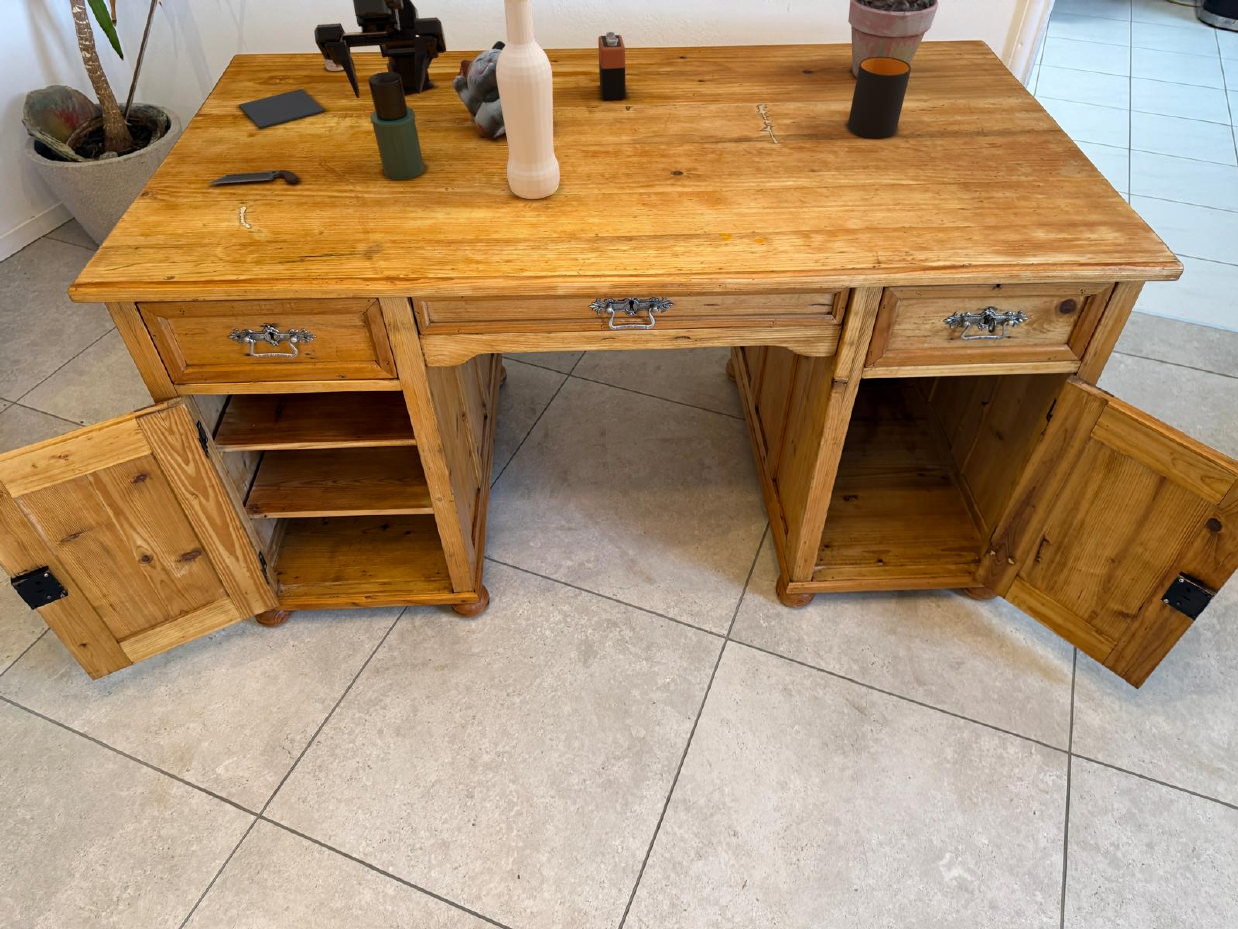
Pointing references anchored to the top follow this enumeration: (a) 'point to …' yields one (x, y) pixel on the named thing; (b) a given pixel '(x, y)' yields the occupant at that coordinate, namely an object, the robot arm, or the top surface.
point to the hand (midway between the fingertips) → (388, 94)
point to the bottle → (527, 106)
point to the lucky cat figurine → (482, 91)
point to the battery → (612, 66)
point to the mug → (878, 97)
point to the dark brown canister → (389, 101)
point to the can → (400, 151)
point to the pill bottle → (332, 64)
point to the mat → (281, 108)
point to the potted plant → (888, 28)
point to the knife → (257, 177)
